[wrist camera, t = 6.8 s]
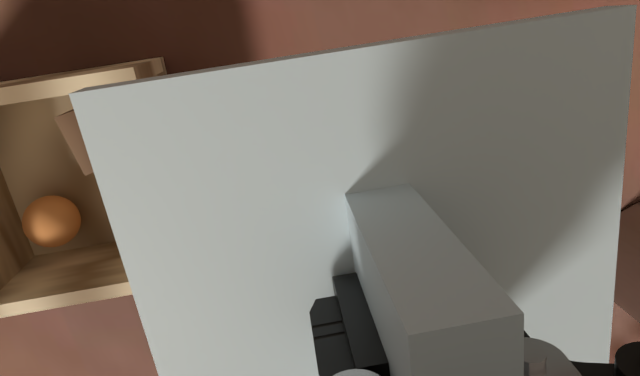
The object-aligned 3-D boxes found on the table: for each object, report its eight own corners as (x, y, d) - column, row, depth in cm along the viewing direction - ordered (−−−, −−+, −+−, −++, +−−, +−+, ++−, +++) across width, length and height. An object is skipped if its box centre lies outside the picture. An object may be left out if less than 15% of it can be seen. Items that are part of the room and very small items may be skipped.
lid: (576, 7, 13) (975, -9, 6) (562, 381, 17) (779, 643, 10) (101, 81, 12) (-135, 170, 5) (210, 450, 17) (167, 786, 9)
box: (162, 56, 30) (133, 67, 23) (206, 232, 34) (191, 283, 27) (-37, 87, 29) (-126, 107, 22) (32, 262, 33) (-27, 322, 26)
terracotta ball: (79, 184, 31) (59, 202, 28) (94, 229, 32) (76, 251, 29) (28, 193, 31) (3, 211, 28) (45, 237, 32) (22, 260, 29)
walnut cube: (131, 87, 29) (115, 96, 26) (156, 140, 30) (143, 155, 27) (77, 106, 29) (53, 117, 26) (104, 159, 30) (84, 175, 27)
